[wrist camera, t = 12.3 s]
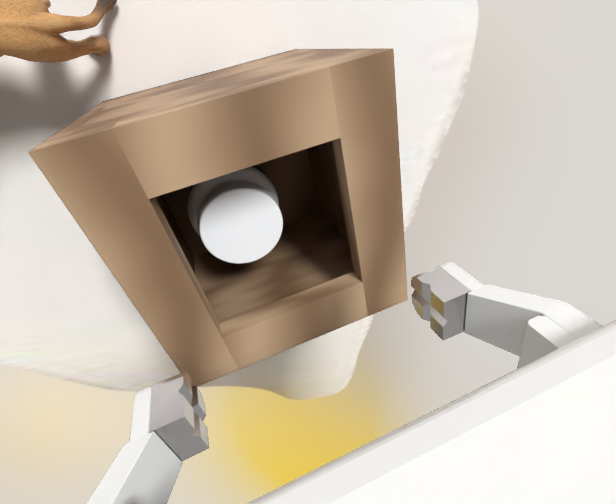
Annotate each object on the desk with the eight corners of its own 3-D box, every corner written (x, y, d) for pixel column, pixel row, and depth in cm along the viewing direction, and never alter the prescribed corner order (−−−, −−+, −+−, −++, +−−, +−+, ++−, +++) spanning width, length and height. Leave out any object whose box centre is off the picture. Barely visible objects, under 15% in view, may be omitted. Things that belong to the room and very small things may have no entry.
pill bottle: (263, 200, 29) (297, 258, 21) (196, 216, 28) (205, 284, 20) (250, 132, 26) (284, 169, 18) (174, 146, 25) (174, 193, 17)
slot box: (187, 262, 31) (191, 388, 19) (103, 101, 23) (28, 152, 12) (328, 213, 33) (407, 299, 21) (295, 49, 25) (393, 48, 14)
